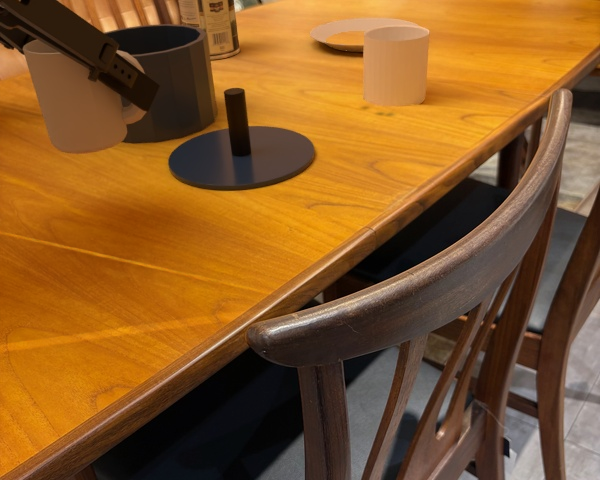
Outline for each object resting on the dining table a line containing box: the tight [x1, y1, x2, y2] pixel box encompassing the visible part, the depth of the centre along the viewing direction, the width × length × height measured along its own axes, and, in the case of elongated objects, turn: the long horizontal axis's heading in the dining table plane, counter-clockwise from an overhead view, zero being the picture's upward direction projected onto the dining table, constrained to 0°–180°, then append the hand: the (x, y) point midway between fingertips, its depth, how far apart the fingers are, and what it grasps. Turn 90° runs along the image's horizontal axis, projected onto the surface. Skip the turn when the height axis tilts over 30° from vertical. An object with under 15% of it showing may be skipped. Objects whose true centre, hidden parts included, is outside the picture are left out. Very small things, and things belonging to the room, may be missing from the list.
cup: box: [23, 39, 146, 155], centre depth 57 cm, size 7×10×9 cm
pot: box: [103, 23, 219, 145], centre depth 84 cm, size 17×17×12 cm
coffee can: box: [177, 0, 241, 61], centre depth 113 cm, size 10×10×14 cm
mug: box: [362, 25, 430, 108], centre depth 89 cm, size 12×9×9 cm
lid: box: [167, 87, 316, 191], centre depth 73 cm, size 18×18×9 cm
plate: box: [309, 17, 420, 53], centre depth 116 cm, size 21×21×2 cm
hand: (121, 90), depth 59 cm, fingers closed on cup, 8 cm apart
